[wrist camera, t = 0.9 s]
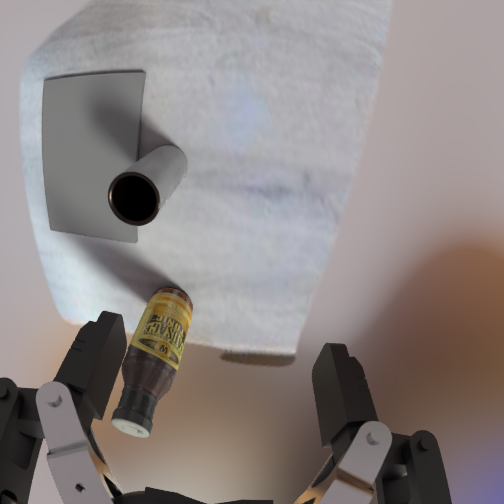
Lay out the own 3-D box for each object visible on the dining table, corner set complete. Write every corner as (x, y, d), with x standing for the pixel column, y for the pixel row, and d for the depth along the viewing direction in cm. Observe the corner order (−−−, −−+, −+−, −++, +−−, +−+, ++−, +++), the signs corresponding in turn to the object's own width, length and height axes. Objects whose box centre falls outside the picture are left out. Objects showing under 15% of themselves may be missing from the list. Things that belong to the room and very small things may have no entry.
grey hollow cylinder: (158, 190, 31) (122, 233, 22) (141, 154, 29) (97, 184, 20) (194, 176, 30) (169, 216, 21) (178, 138, 28) (145, 162, 19)
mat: (46, 80, 23) (44, 80, 22) (145, 72, 24) (143, 72, 23) (52, 228, 33) (50, 230, 33) (137, 241, 34) (136, 243, 34)
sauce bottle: (203, 301, 39) (179, 437, 22) (179, 324, 42) (151, 447, 25) (163, 275, 37) (114, 409, 20) (142, 301, 39) (96, 423, 22)
